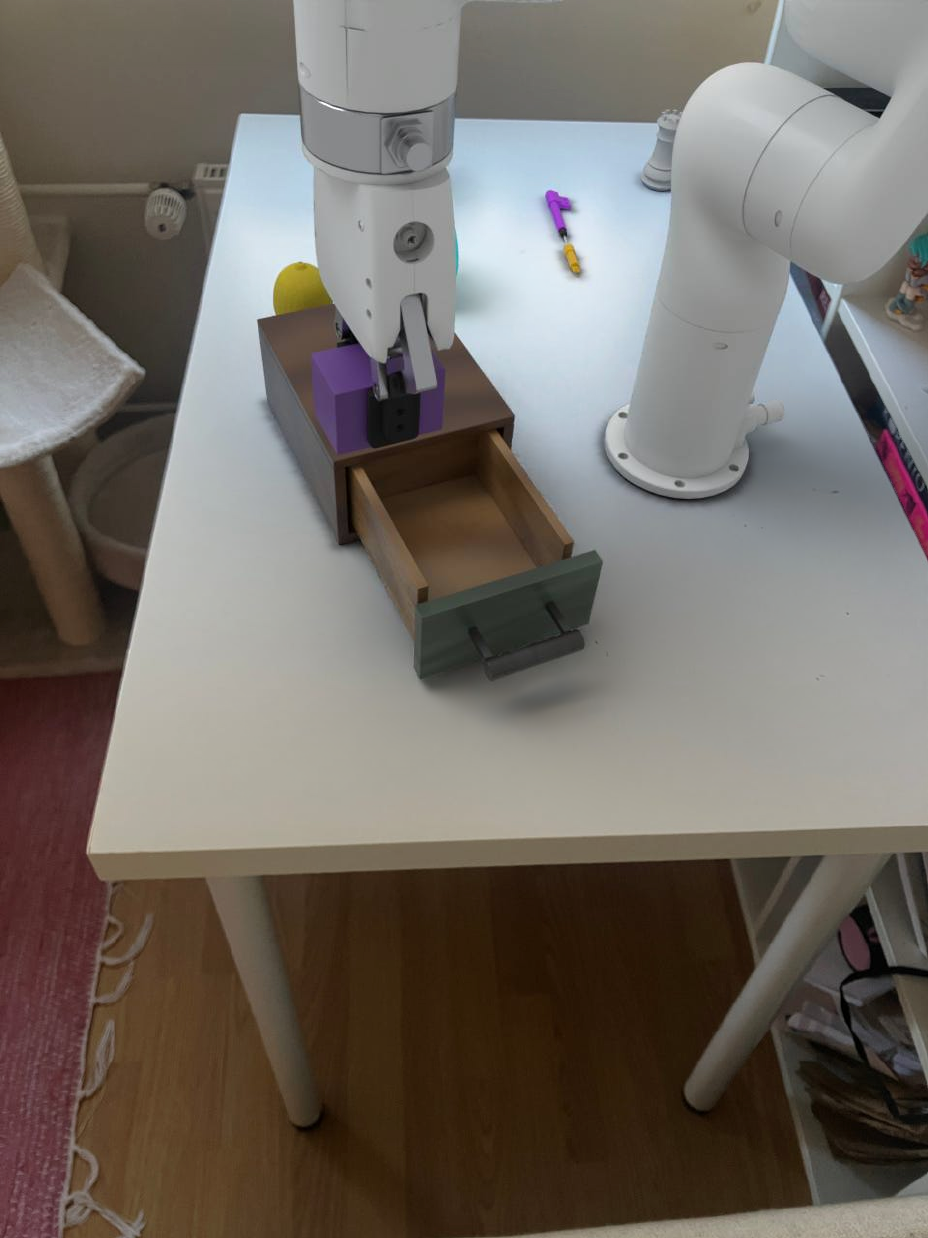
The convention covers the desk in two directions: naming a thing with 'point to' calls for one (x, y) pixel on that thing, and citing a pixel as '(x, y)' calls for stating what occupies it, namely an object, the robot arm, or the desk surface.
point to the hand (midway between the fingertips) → (378, 413)
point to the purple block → (361, 395)
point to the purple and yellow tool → (562, 225)
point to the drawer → (472, 556)
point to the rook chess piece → (662, 153)
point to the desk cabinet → (292, 405)
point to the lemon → (299, 289)
